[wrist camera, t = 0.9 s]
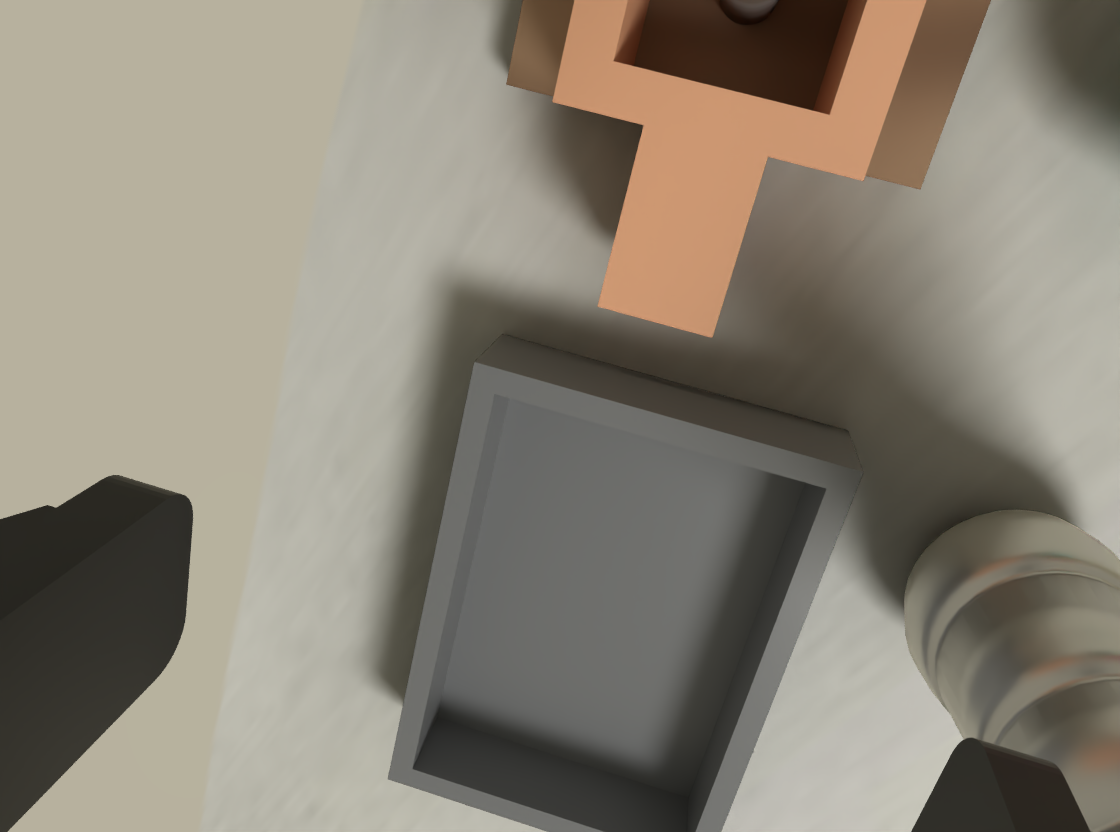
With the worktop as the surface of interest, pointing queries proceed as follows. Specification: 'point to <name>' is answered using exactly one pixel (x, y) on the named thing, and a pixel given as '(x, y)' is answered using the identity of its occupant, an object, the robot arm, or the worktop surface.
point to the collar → (718, 148)
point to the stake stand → (778, 60)
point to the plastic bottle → (1026, 645)
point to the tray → (613, 593)
